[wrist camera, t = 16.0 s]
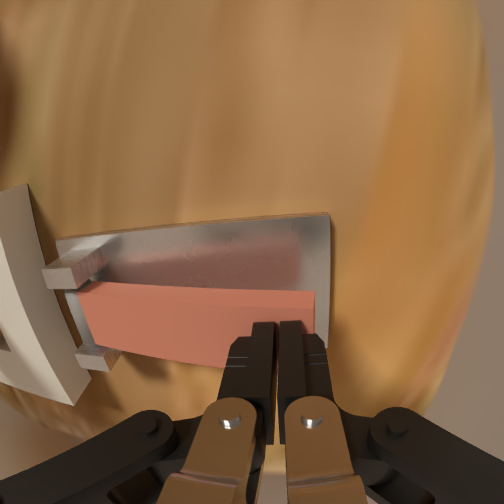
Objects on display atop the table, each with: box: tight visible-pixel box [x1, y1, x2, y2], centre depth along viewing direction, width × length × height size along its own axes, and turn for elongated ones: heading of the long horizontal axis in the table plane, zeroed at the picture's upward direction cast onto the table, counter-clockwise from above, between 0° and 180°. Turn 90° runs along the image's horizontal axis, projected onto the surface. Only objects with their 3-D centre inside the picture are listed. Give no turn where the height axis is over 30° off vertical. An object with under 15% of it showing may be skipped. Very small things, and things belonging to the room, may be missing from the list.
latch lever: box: [63, 279, 315, 373], centre depth 12 cm, size 12×3×2 cm, turn 95°
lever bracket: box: [41, 212, 330, 372], centre depth 13 cm, size 14×7×3 cm, turn 95°
